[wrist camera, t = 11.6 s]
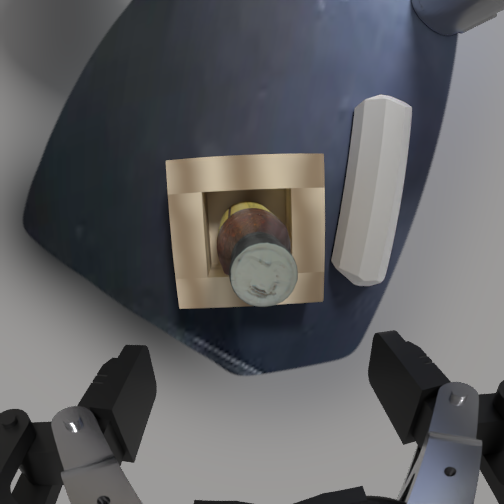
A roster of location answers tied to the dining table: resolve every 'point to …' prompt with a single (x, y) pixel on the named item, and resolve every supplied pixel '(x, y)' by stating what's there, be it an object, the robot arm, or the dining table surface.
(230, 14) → the dining table surface
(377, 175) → the crystal
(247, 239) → the sauce bottle
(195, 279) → the socket block
